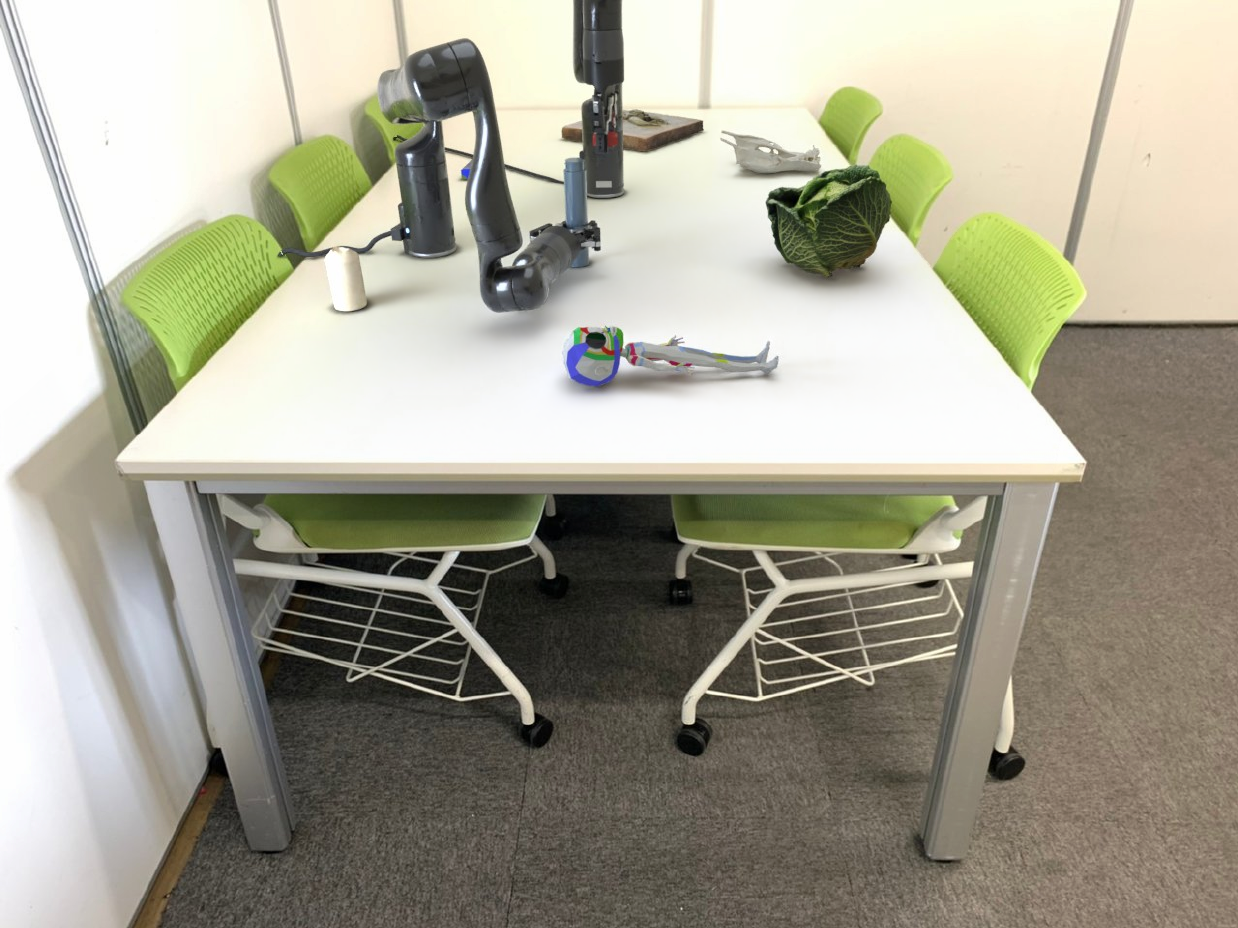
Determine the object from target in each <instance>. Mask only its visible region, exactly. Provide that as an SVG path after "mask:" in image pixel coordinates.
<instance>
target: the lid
mask: <svg viewBox="0 0 1238 928" xmlns="http://www.w3.org/2000/svg"><path fill="white" fill-rule="evenodd" d="M617 144H618V136H617V133H616V132H611V131H608V147H612V146H616V145H617ZM593 145H594V146H596V134H594V133H593Z"/></svg>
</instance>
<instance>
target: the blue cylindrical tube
mask: <svg viewBox="0 0 1238 928" xmlns="http://www.w3.org/2000/svg"><path fill="white" fill-rule="evenodd" d="M563 182H564V184H563V188H564V189H563V192H564V211H565V214H564V215H565V220H566V228H567V229H568V230H570V229H572V230H573V229H575V228H577V227H585V226H586V225H587V224H588V223H589V215H588V213H589V212H588V196H587V181H586V169H585V168H584V159H582V158H579V157H568V158H566V159H564V169H563ZM589 264H590V247H586V248H585V250H583V251H580V252H579V254H578V256H577V258H576V260H575V261H574V262H573V264H572V265H571V266H570V267H572V268H583V267H587V266H589Z"/></svg>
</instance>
